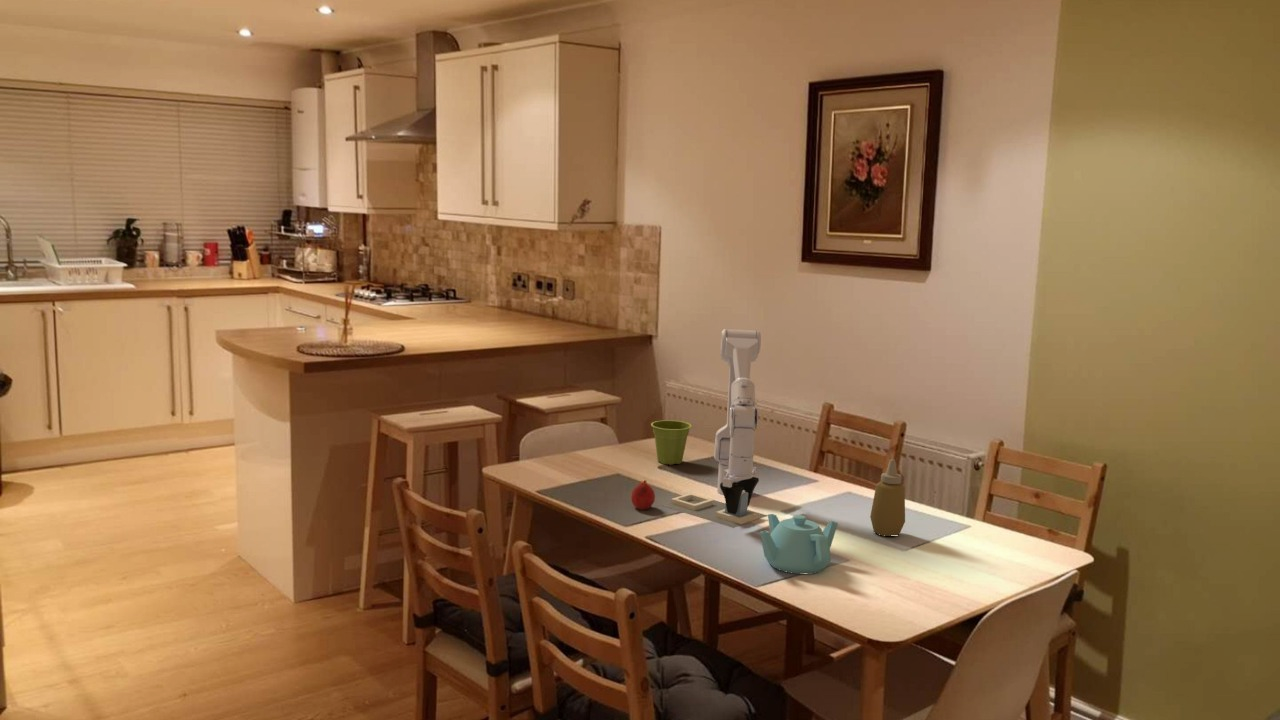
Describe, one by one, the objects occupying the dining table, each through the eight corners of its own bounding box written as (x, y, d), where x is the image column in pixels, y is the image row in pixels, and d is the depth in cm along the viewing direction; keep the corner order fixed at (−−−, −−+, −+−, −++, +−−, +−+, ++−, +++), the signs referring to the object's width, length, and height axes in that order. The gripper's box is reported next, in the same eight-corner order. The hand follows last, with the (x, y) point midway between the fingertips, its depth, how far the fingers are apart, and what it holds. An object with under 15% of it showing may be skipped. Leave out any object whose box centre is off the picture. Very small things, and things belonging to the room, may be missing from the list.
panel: (697, 499, 261) (697, 490, 261) (767, 519, 246) (768, 510, 246) (661, 509, 251) (662, 500, 250) (733, 531, 236) (733, 522, 236)
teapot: (753, 571, 211) (756, 521, 210) (766, 548, 226) (769, 502, 224) (827, 582, 207) (831, 531, 205) (835, 558, 221) (839, 511, 220)
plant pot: (647, 456, 302) (648, 419, 300) (686, 457, 303) (688, 420, 302) (651, 467, 290) (653, 428, 289) (692, 467, 292) (694, 429, 290)
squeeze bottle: (905, 531, 242) (911, 458, 239) (902, 541, 235) (909, 466, 232) (871, 526, 245) (877, 454, 242) (867, 536, 237) (873, 461, 234)
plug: (731, 513, 247) (733, 487, 246) (746, 516, 245) (748, 490, 244) (724, 517, 243) (726, 490, 242) (739, 520, 241) (741, 493, 240)
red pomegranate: (651, 516, 245) (653, 484, 244) (628, 513, 246) (629, 482, 245) (656, 509, 250) (657, 478, 249) (633, 507, 252) (634, 475, 250)
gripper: (739, 446, 250) (735, 499, 252) (712, 457, 237) (709, 513, 239) (765, 451, 246) (761, 505, 248) (739, 462, 234) (736, 519, 236)
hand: (737, 509), depth 243 cm, fingers open, 6 cm apart
